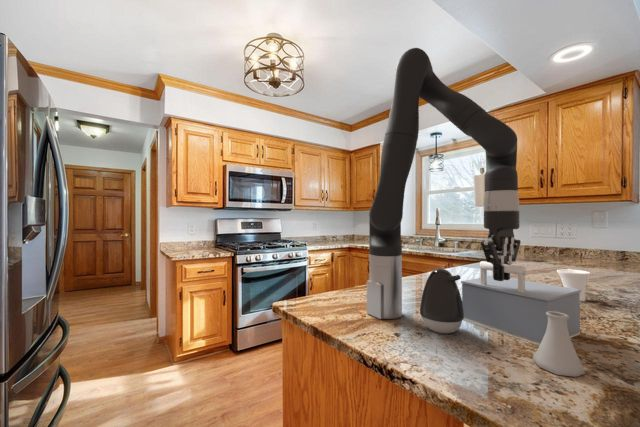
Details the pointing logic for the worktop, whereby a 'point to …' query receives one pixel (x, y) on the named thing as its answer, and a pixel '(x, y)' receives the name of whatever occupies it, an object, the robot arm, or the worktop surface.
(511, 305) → the carton
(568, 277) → the cup
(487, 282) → the lid flap
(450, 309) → the pump dispenser
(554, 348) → the flask
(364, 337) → the worktop surface
